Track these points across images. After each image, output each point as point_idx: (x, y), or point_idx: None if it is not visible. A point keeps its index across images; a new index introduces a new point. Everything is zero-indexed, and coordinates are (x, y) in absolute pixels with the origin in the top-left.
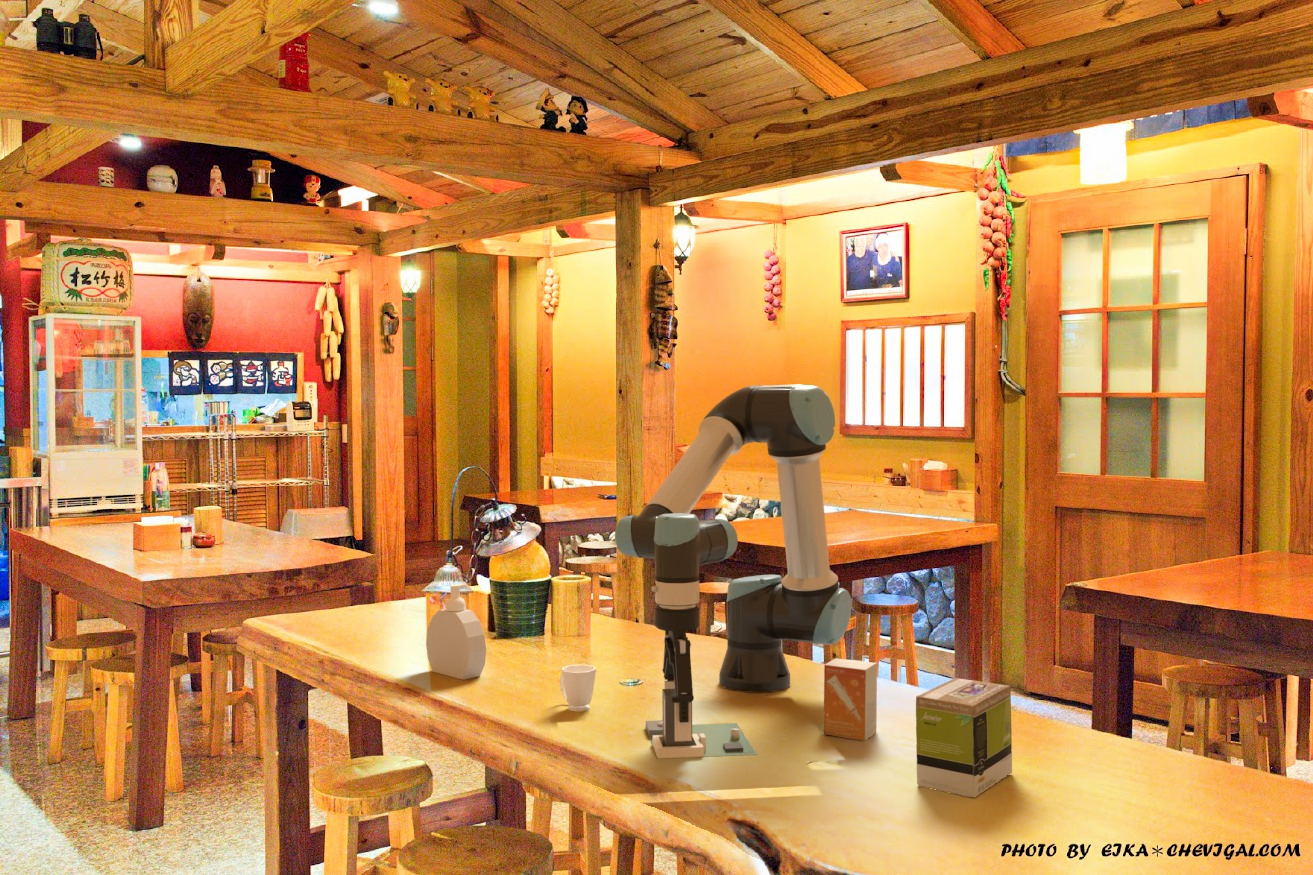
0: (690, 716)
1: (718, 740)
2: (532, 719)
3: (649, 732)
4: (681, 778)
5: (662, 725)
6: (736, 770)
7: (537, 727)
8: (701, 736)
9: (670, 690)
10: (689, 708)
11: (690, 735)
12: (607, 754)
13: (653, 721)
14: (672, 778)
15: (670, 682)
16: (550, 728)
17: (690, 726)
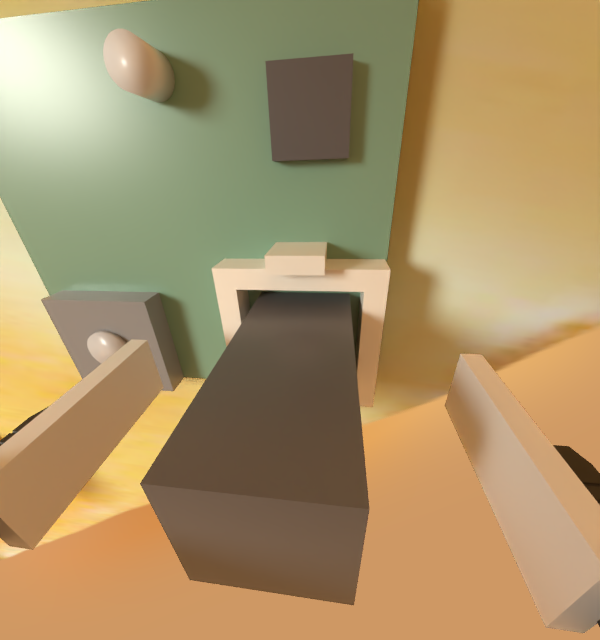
0: (552, 453)
1: (191, 168)
2: (75, 501)
3: (176, 386)
4: (497, 336)
5: None
6: (496, 133)
7: (116, 502)
8: (307, 272)
9: (219, 564)
10: (595, 516)
11: (491, 372)
12: None
13: (85, 369)
14: (485, 357)
15: (19, 526)
16: (117, 490)
17: (517, 405)
